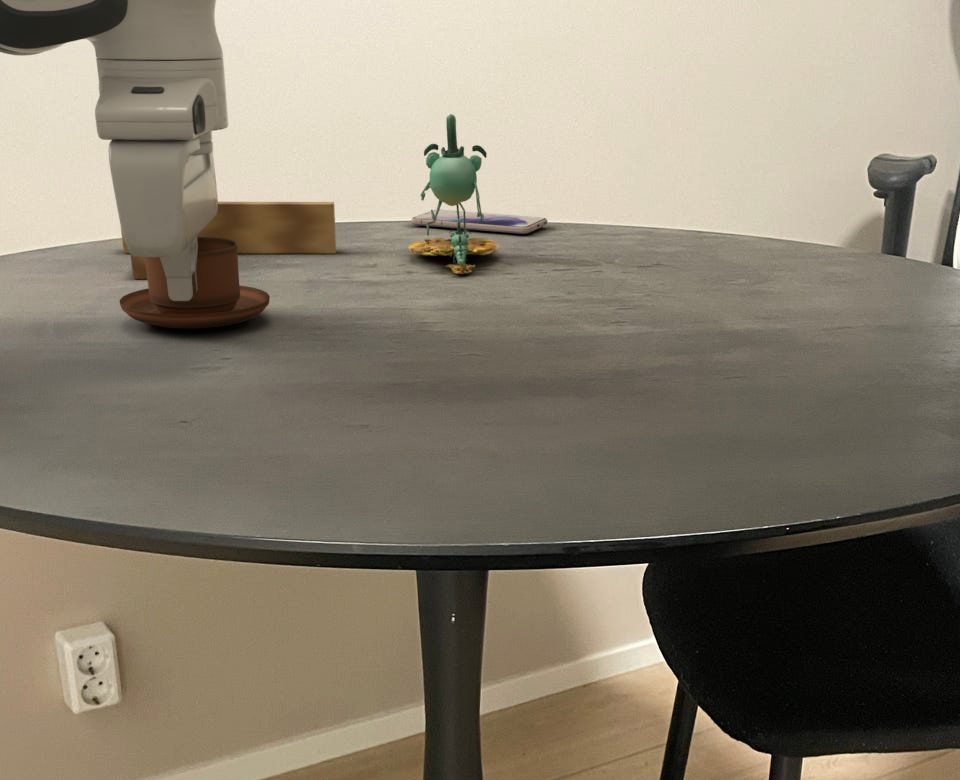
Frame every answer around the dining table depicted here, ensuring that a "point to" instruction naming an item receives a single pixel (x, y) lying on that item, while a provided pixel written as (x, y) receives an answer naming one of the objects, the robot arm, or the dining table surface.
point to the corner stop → (267, 229)
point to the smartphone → (488, 224)
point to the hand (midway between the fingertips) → (183, 297)
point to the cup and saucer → (198, 292)
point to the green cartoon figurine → (453, 200)
